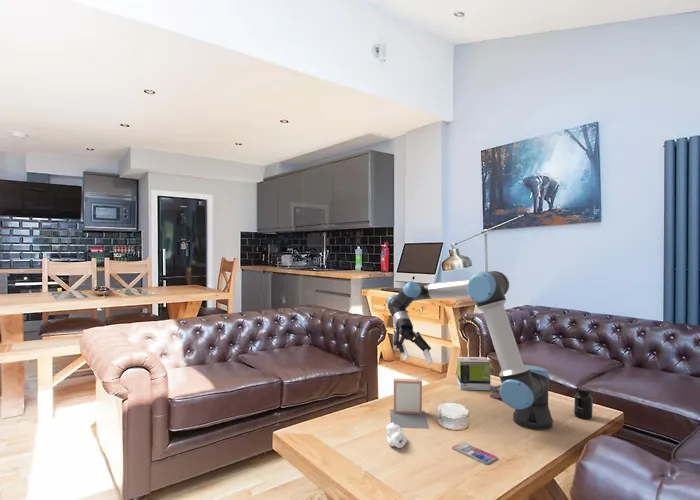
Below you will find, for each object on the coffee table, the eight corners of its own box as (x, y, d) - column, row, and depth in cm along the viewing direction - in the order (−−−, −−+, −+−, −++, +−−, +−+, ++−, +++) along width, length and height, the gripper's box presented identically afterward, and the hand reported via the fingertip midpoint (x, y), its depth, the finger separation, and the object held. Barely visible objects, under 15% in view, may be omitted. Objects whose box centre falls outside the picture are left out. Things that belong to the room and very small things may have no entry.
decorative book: (529, 398, 203) (529, 387, 203) (508, 405, 194) (508, 394, 194) (509, 391, 213) (509, 381, 212) (488, 397, 204) (488, 387, 204)
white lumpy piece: (400, 453, 149) (386, 432, 150) (386, 452, 159) (373, 432, 160) (416, 437, 153) (403, 417, 154) (401, 436, 163) (389, 417, 164)
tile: (393, 410, 185) (393, 378, 185) (421, 411, 184) (421, 379, 184) (393, 413, 182) (393, 380, 182) (421, 414, 181) (422, 381, 181)
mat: (389, 410, 186) (389, 409, 186) (424, 411, 185) (424, 410, 185) (391, 428, 168) (391, 427, 168) (429, 430, 167) (429, 428, 167)
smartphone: (462, 441, 157) (499, 457, 145) (462, 443, 157) (499, 459, 145) (450, 446, 152) (487, 463, 140) (450, 449, 152) (487, 466, 140)
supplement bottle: (575, 418, 179) (575, 390, 179) (573, 412, 185) (573, 385, 185) (593, 421, 176) (594, 392, 176) (591, 414, 183) (591, 387, 183)
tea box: (486, 384, 222) (486, 356, 221) (490, 391, 212) (490, 362, 211) (456, 383, 223) (457, 355, 223) (460, 390, 213) (460, 361, 213)
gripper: (418, 332, 206) (434, 369, 190) (377, 323, 193) (391, 362, 178) (427, 322, 202) (444, 359, 187) (386, 312, 190) (401, 351, 174)
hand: (418, 360), depth 182 cm, fingers open, 13 cm apart
